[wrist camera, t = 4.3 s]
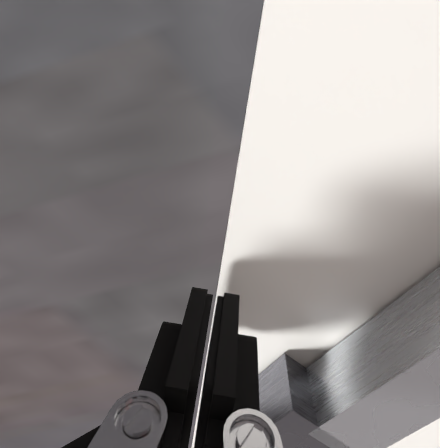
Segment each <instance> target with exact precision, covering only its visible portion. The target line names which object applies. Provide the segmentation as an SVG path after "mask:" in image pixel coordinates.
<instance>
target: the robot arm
mask: <svg viewBox="0 0 440 448" xmlns="http://www.w3.org/2000/svg"><path fill="white" fill-rule="evenodd" d="M207 291H208V290H206V289H200V288H194V287H192V290H191V294H190V298H189V301H188V305H187V309H186V312H185V316H184V320H183V323H182V325H181V324H175V323H169V322H163V323H162V326H161V328H160V331H159V334H158V337H157V339H156V342H155V345H154V348H153V350H152V353H151V356H150V359H149V362H148V364H147V367H146V370H145V373H144V375H143V378H142V381H141V384H140V387H139V389H138V391H133V392H130V393H128V394H125V395H124V396H122V397H121V398H120V399H118V400H117V401H116V403H115V404H114V405H113V406H112V408H111V409H110V411H109V413H108V414H107V416H106V418H105V419H104V421H103V423H102V424H101V425H100V426H98V427H97V428H95V429H93V430H91V431H90V432H88V433H86V434H84V435H83V436H81V437H79V438H77V439H76V440H74V441H72V442H70V443H69V444H67V445H65V446H64V447H62V448H188V444H189V438H190V432H191V426H192V420H193V414H194V408H195V401H196V395H197V389H198V383H199V377H200V371H201V365H202V359H203V353H204V347H205V341H206V334H207V328H208V322H209V316H210V310H211V303H212V297H213V295H211V294H207ZM239 299H240V295H237V294H231V293H225V292H224V297H223V296H218V297H217V303H216V309H215V315H214V321H213V327H212V332H211V338H210V344H209V350H208V356H207V363H206V369H205V376H204V383H203V390H202V396H201V403H200V410H199V416H198V423H197V430H196V437H195V443H194V448H283V446H282V441H281V437H280V434H279V432H278V429H277V427H276V426H275V424H274V423H273V421H272V420H271V419H270V418H269V417H267V416H266V415H265V414H264V413H262V412H260V404H259V377H258V350H257V338H256V337H253V336H247V335H241V334H238V325H239Z"/></svg>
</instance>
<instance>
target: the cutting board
mask: <svg viewBox="0 0 440 448" xmlns="http://www.w3.org/2000/svg"><path fill="white" fill-rule="evenodd" d="M439 267H440V0H264V5H263V11H262V17H261V23H260V29H259V36H258V42H257V48H256V54H255V60H254V66H253V72H252V79H251V85H250V91H249V97H248V103H247V109H246V116H245V122H244V128H243V134H242V140H241V146H240V153H239V159H238V165H237V171H236V177H235V183H234V189H233V196H232V202H231V208H230V214H229V220H228V226H227V233H226V239H225V245H224V251H223V257H222V263H221V270H220V276H219V282H218V288H217V294H216V300H215V306H214V313H213V319H212V325H211V331H210V337H209V343H208V350H209V344H210V338H211V332H212V327H213V321H214V315H215V309H216V303H217V297H218V296H223V297H224V292H225V293H231V294H237V295H240V299H239V325H238V334H241V335H247V336H253V337H256V338H257V350H258V375H259V374H260V373H261V372H262V371H263V370H265V369H266V368H267V367H268V366H270V365H271V364H272V363H273V362H275V361H276V360H277V359H278V358H279V357H281V356H282V355H283V354H284V353H285V354H286V355H288V356H289V357H291V358H292V359H294V360H295V361H297V362H298V363H300V364H301V365H303V366H304V367H306V368H307V367H308V366H310V365H311V364H312V363H314V362H315V361H316V360H317V359H319V358H320V357H321V356H323V355H324V354H325V353H327V352H328V351H329V350H331V349H332V348H333V347H335V346H336V345H337V344H339V343H340V342H341V341H342V340H344V339H345V338H346V337H348V336H349V335H350V334H352V333H353V332H354V331H356V330H357V329H358V328H360V327H361V326H362V325H364V324H365V323H366V322H368V321H369V320H370V319H371V318H373V317H374V316H375V315H377V314H378V313H379V312H381V311H382V310H383V309H385V308H386V307H387V306H389V305H390V304H391V303H393V302H394V301H395V300H396V299H398V298H399V297H400V296H402V295H403V294H404V293H406V292H407V291H408V290H410V289H411V288H412V287H414V286H415V285H416V284H418V283H419V282H420V281H421V280H423V279H424V278H425V277H427V276H428V275H429V274H431V273H432V272H433V271H435V270H436V269H437V268H439ZM208 350H207V356H208ZM207 356H206V362H205V368H204V374H203V380H202V387H201V393H200V399H199V405H198V411H197V417H196V424H195V430H194V436H193V442H192V448H194V443H195V437H196V430H197V423H198V416H199V410H200V403H201V396H202V390H203V383H204V376H205V369H206V363H207ZM387 448H440V418H439V419H437V420H436V421H434V422H432V423H430V424H428V425H427V426H425V427H423V428H421V429H419V430H418V431H416V432H414V433H412V434H411V435H409V436H407V437H405V438H403V439H402V440H400V441H398V442H396V443H394V444H393V445H391V446H389V447H387Z"/></svg>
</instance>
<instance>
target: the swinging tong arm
mask: <svg viewBox="0 0 440 448" xmlns="http://www.w3.org/2000/svg"><path fill="white" fill-rule="evenodd" d="M258 377H259V404H260V412H262V413H264V414H265V415H266V416H267V417H269V418H270V419H271V420H272V421H273V423H274V424H275V426H276V427H277V429H278V432H279V434H280V437H281V441H282V446H283V448H387V447H389V446H391V445H393V444H394V443H396V442H398V441H400V440H402V439H403V438H405V437H407V436H409V435H411V434H412V433H414V432H416V431H418V430H419V429H421V428H423V427H425V426H427V425H428V424H430V423H432V422H434V421H436V420H437V419H439V418H440V267H439V268H437V269H436V270H435V271H433V272H432V273H431V274H429V275H428V276H427V277H425V278H424V279H423V280H421V281H420V282H419V283H418V284H416V285H415V286H414V287H412V288H411V289H410V290H408V291H407V292H406V293H404V294H403V295H402V296H400V297H399V298H398V299H396V300H395V301H394V302H393V303H391V304H390V305H389V306H387V307H386V308H385V309H383V310H382V311H381V312H379V313H378V314H377V315H375V316H374V317H373V318H371V319H370V320H369V321H368V322H366V323H365V324H364V325H362V326H361V327H360V328H358V329H357V330H356V331H354V332H353V333H352V334H350V335H349V336H348V337H346V338H345V339H344V340H342V341H341V342H340V343H339V344H337V345H336V346H335V347H333V348H332V349H331V350H329V351H328V352H327V353H325V354H324V355H323V356H321V357H320V358H319V359H317V360H316V361H315V362H314V363H312V364H311V365H310V366H308V367H307V368H306V367H304V366H303V365H301V364H300V363H298V362H297V361H295V360H294V359H292V358H291V357H289V356H288V355H286V354H285V353H284V354H283V355H282V356H281V357H279V358H278V359H277V360H276V361H275V362H273V363H272V364H271V365H270V366H268V367H267V368H266V369H265V370H263V371H262V372H261V373H260V374H259V375H258Z"/></svg>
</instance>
